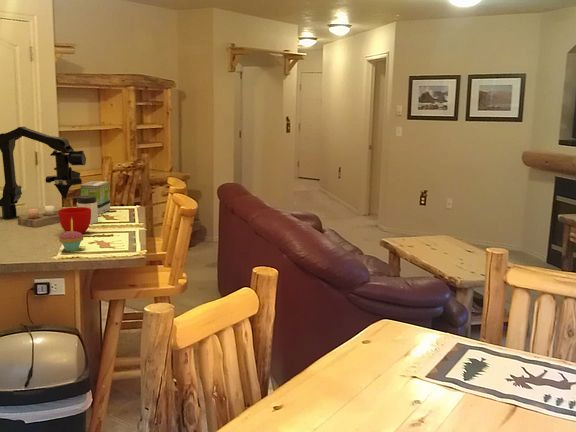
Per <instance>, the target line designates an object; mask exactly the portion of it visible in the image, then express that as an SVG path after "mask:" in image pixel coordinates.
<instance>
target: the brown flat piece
mask: <svg viewBox="0 0 576 432" xmlns="http://www.w3.org/2000/svg"><path fill="white" fill-rule="evenodd" d="M59 210H60V209H58V210H54V211H55V215H52V216H46V215H45V212H43V213H38V214H39V218H37V219H29V215H27V216H21V217H18V218H17V225H19V226H24V227H29V228H41V227H45V226H50V225H51V226H52V225H56V224H60V220H59V215H58V211H59Z"/></svg>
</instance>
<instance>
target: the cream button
mask: <svg viewBox="0 0 576 432" xmlns="http://www.w3.org/2000/svg"><path fill="white" fill-rule="evenodd" d="M55 211H56V210H55V206H54V205H45V206H44V213H45V215H46V216H52V215H55Z"/></svg>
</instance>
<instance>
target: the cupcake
mask: <svg viewBox="0 0 576 432" xmlns="http://www.w3.org/2000/svg"><path fill="white" fill-rule="evenodd" d="M58 239H59V242H60V243H61V244H62V246H63V248H64V250H65V251H66V252H75V251H79V249H80V244H81V243H82V241H84V235H83V234H81V233H79V232H77V231H73V220H72V218H71V231H64V232H63V233H62V234H61V235H60V236H59V237H58Z"/></svg>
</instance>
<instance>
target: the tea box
mask: <svg viewBox="0 0 576 432" xmlns="http://www.w3.org/2000/svg"><path fill="white" fill-rule="evenodd" d="M87 195H91V196H96V202H97V208H98V216H101V215H103V213H106V212H108V211H110V210H111V190H110V181H96V180H94V181H93V180H91V181H88V182H86V183H82V184H80V196H87Z"/></svg>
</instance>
